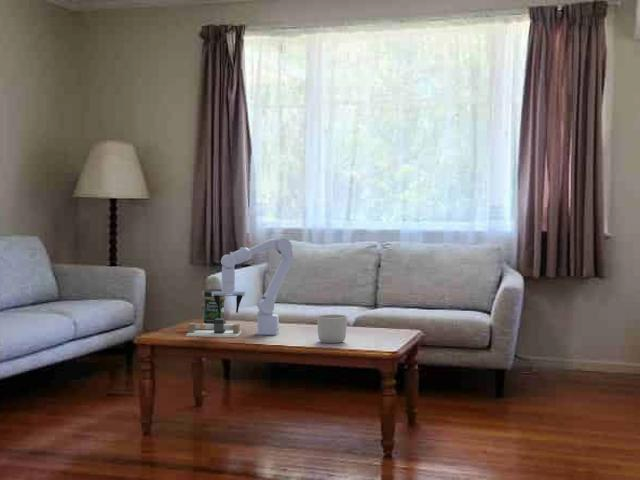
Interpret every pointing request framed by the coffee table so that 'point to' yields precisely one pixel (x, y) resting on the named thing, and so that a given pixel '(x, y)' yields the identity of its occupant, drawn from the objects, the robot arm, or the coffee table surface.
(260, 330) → the robot arm
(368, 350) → the coffee table surface
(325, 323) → the planter
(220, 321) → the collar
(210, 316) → the coffee jar
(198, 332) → the rail
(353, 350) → the coffee table surface
